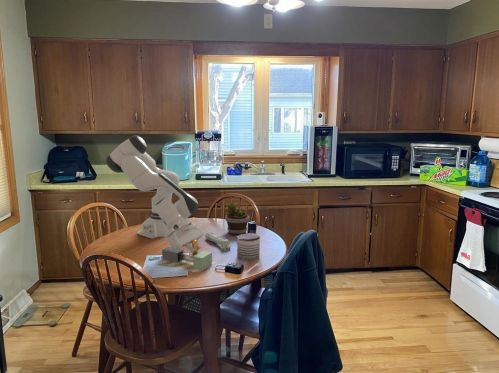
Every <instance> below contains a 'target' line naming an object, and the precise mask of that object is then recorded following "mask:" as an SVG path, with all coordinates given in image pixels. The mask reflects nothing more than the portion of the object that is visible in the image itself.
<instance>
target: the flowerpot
mask: <svg viewBox="0 0 499 373" xmlns="http://www.w3.org/2000/svg"><path fill="white" fill-rule="evenodd" d="M226 209H227V210H226V211H227V214H226V215H225V217H224V218H225V222H226V225H227V232H228V233H229V234H230V235H234V236H239V235H241V234H246V232H247V231H248V227H247V226H248V222H249V220H250V216H249V214H248V213H247V212H246V211H244V209H243V208H242V207H239V208H237V206H236V203H235V202H234V201H231V202H229V204H228V205H227V206H226Z"/></svg>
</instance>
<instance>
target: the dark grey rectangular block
mask: <svg viewBox="0 0 499 373" xmlns="http://www.w3.org/2000/svg"><path fill="white" fill-rule="evenodd" d="M161 253H162V254H161V256H162V259H163V260H167V261H171V262H175V263H178V262H180V261H182V260H180V259H178V254H179V253H182V254H185V252H184V249H182V248H180V249H178V250H175V249H173V247H172V246H167V247H164V248H162V250H161Z"/></svg>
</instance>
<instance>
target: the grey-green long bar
mask: <svg viewBox="0 0 499 373" xmlns="http://www.w3.org/2000/svg"><path fill="white" fill-rule="evenodd" d="M205 239H206V240H207V241H208V242H213V243H216V244H218V245H220V249H221V250H222V251H225V252H226V251H227V252H228V251H231V248H232V245H231V244H230V241H229V239H223V238H222V237H219V236H217V235H216V234H214V233H213V232H207V233H206V234H205Z"/></svg>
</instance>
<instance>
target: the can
mask: <svg viewBox="0 0 499 373" xmlns="http://www.w3.org/2000/svg"><path fill="white" fill-rule="evenodd" d="M236 239H237V242H236V244H237V246H236V247H237V249H236V256H237V258H238V259H240V260H244V261H255V260H256V261H258V260H259V259H260V248H261V247H260V245H261V243H260V242H261V235H260V234H258V233H250V232H249V233H245V234H241V235H236Z"/></svg>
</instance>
